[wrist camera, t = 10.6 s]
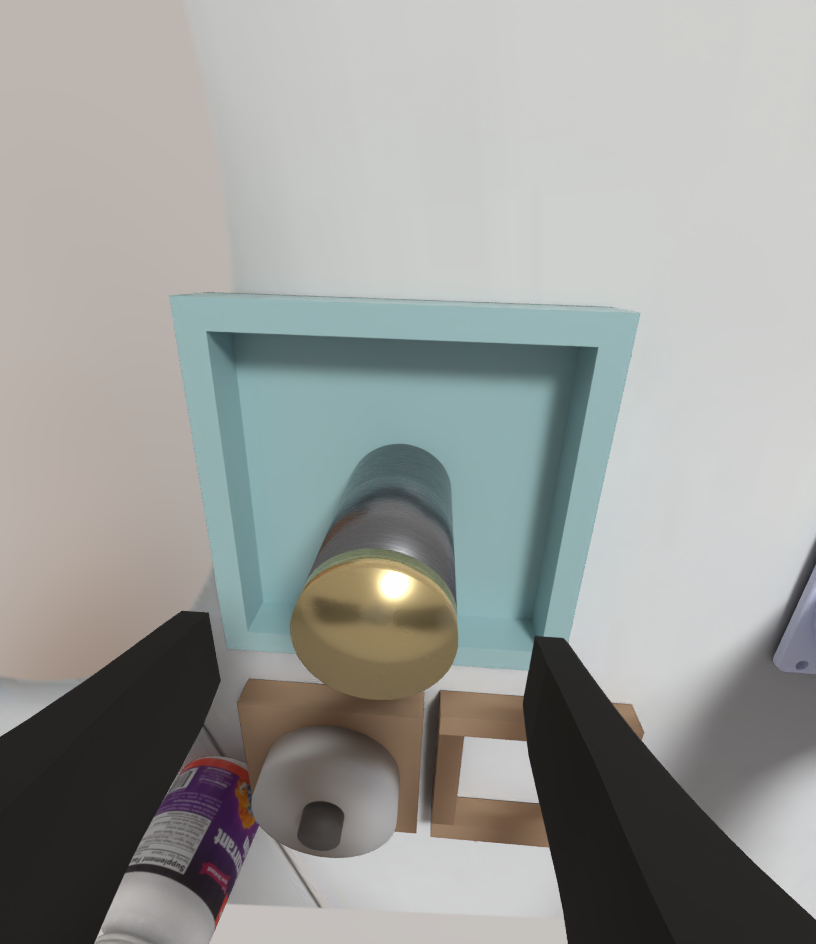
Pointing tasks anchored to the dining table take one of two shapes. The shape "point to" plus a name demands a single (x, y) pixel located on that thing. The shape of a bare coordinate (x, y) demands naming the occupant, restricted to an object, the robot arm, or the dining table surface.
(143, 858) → the pill bottle
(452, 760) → the block
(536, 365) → the tray
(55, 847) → the robot arm
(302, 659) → the tin can
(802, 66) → the dining table surface
